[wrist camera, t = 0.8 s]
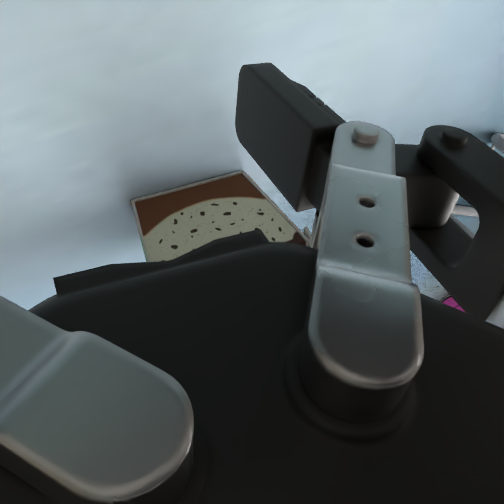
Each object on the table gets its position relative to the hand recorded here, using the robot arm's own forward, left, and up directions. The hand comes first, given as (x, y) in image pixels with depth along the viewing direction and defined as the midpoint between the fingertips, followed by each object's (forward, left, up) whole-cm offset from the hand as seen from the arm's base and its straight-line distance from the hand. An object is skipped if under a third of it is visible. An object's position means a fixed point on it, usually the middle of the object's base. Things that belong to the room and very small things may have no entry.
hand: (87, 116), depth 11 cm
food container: (+20, +10, -18) cm, 28 cm away
